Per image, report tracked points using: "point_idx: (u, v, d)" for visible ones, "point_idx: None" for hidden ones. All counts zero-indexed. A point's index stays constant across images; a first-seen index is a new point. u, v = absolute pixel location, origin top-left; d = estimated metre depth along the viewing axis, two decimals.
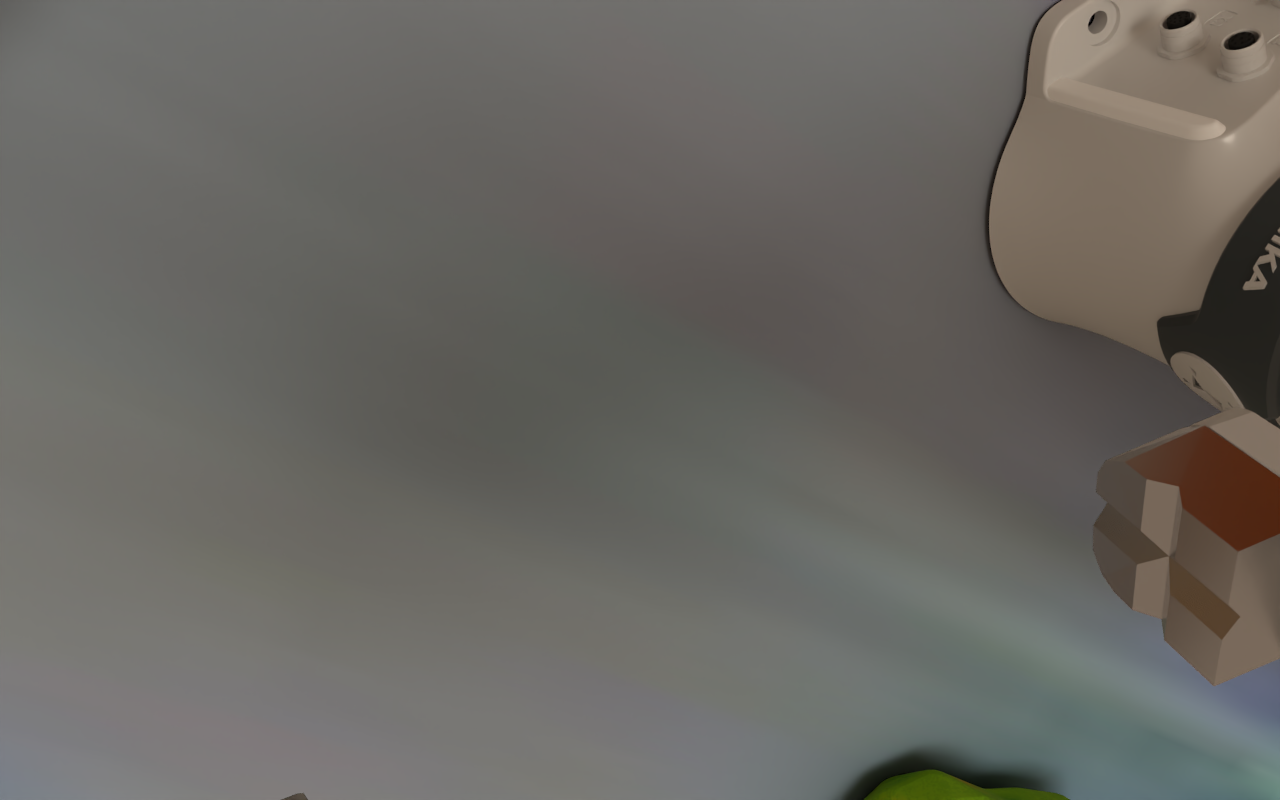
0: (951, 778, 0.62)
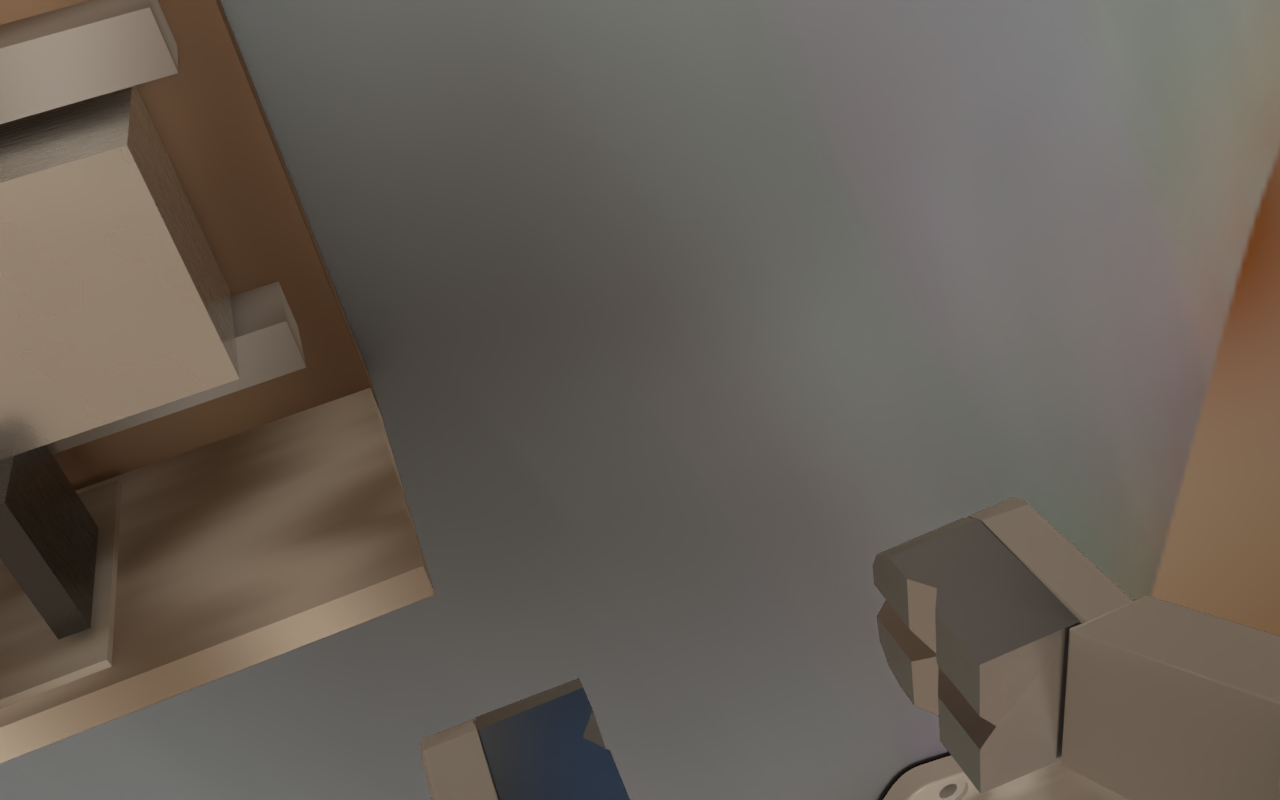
0: None
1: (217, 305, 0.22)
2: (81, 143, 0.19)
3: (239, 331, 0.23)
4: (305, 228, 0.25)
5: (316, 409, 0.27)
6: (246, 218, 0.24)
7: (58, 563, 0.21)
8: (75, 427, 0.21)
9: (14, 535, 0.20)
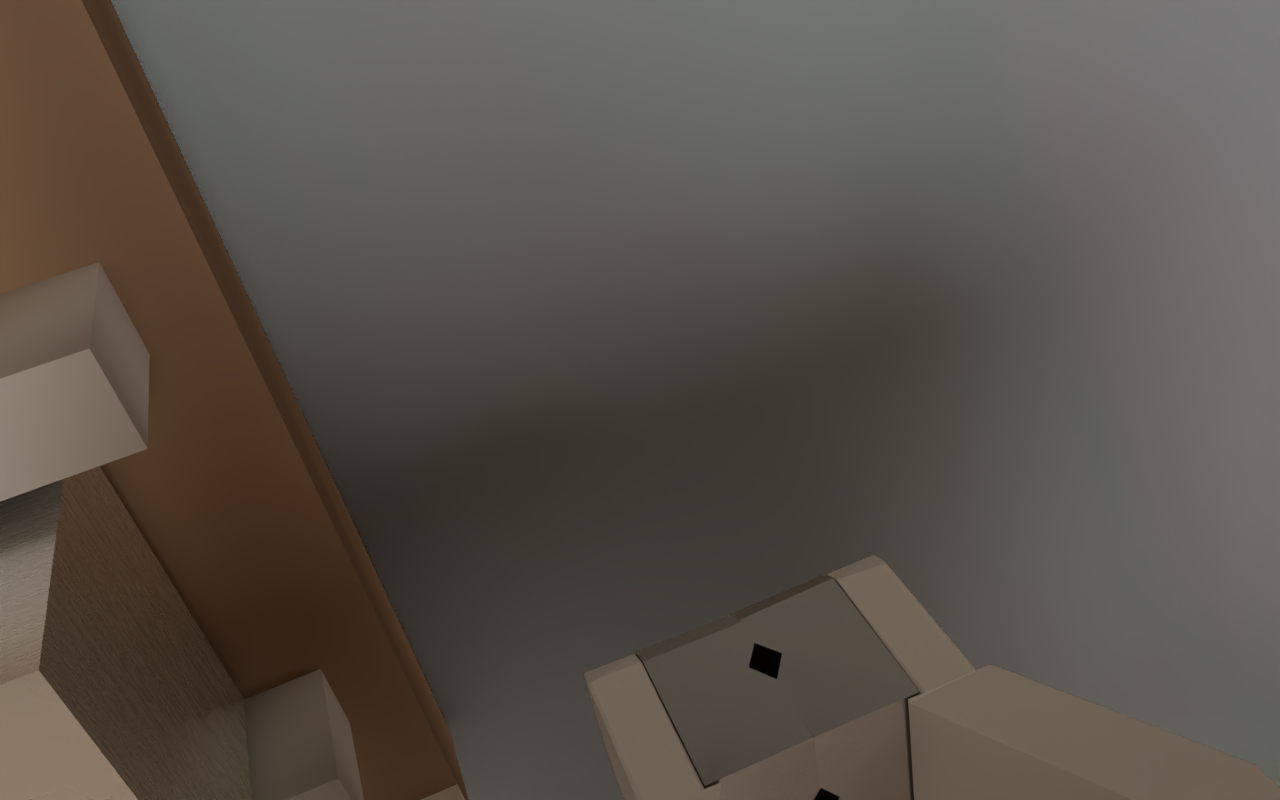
0: None
1: None
2: None
3: (260, 796, 0.14)
4: (364, 592, 0.15)
5: None
6: (269, 591, 0.15)
7: None
8: None
9: None
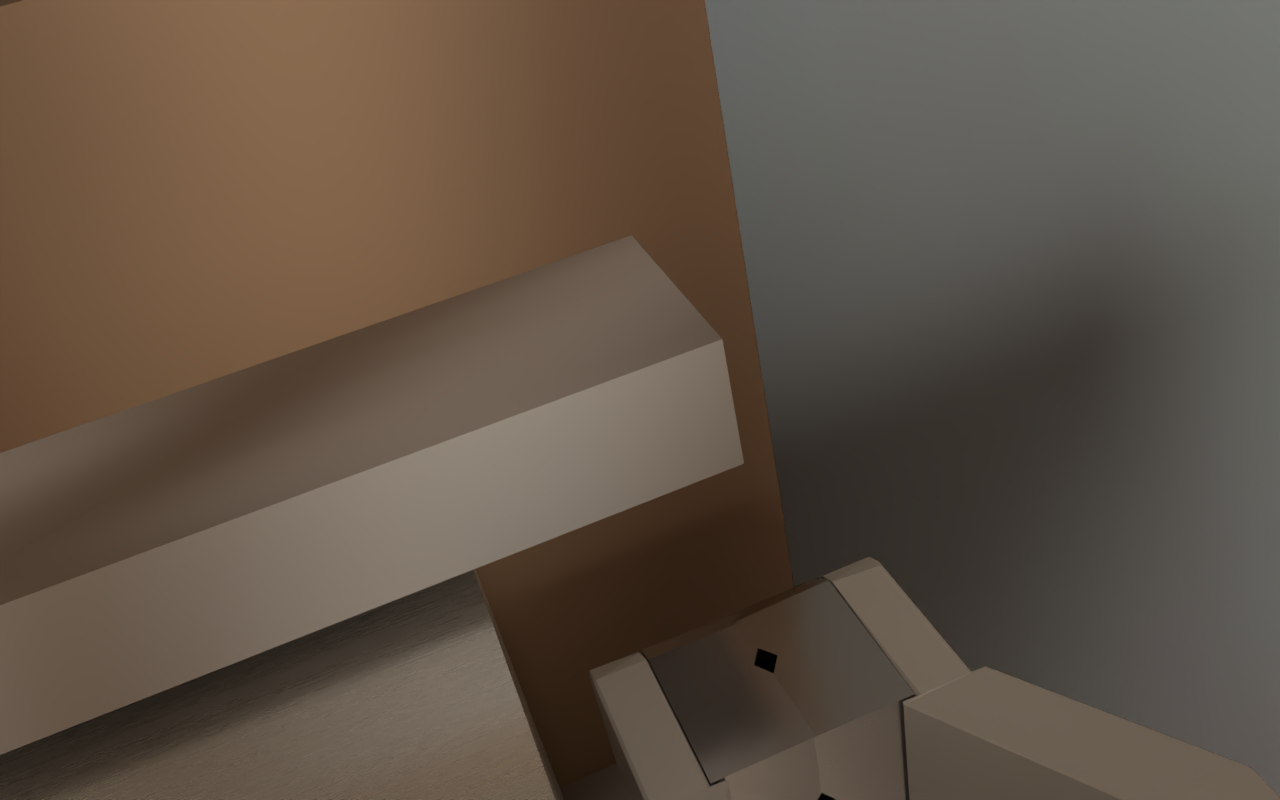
0: None
1: None
2: (422, 785, 0.07)
3: None
4: None
5: None
6: None
7: None
8: None
9: None
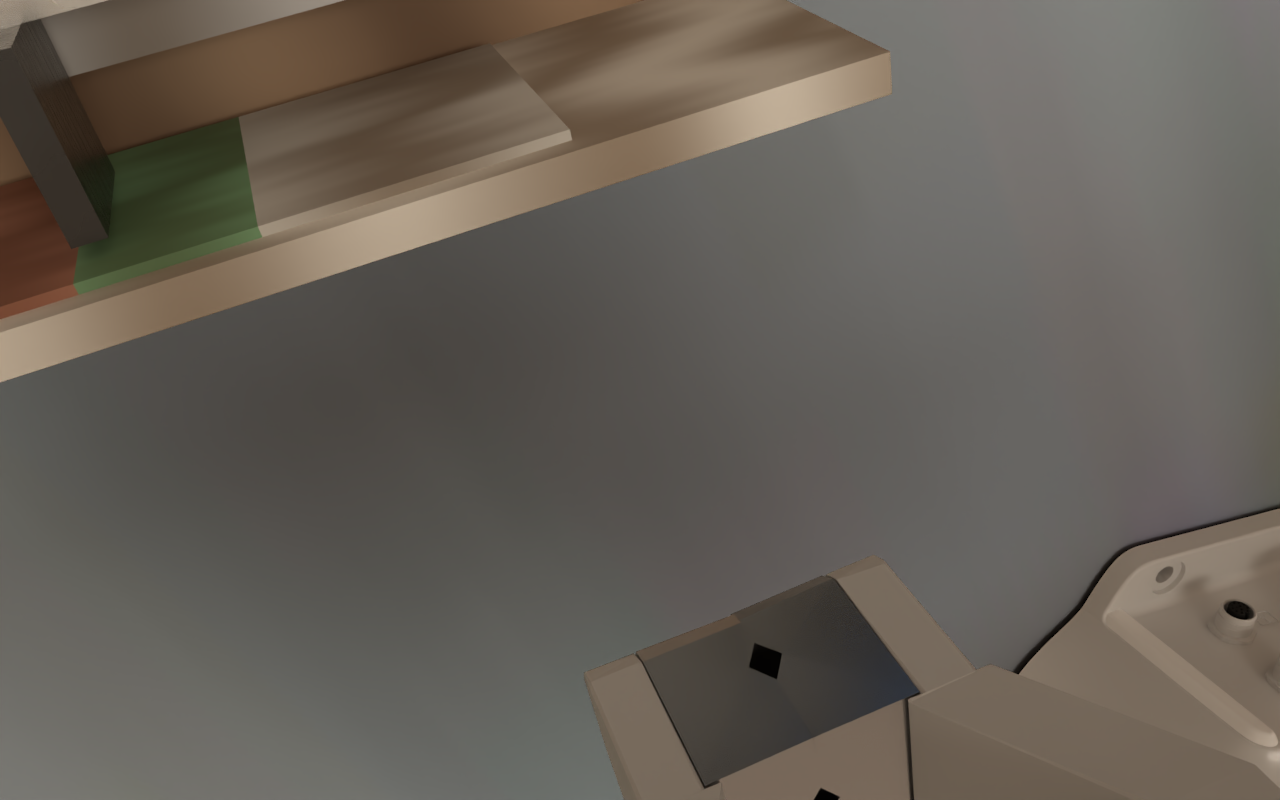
0: None
1: None
2: None
3: None
4: None
5: None
6: None
7: (72, 154, 0.18)
8: None
9: (22, 95, 0.17)
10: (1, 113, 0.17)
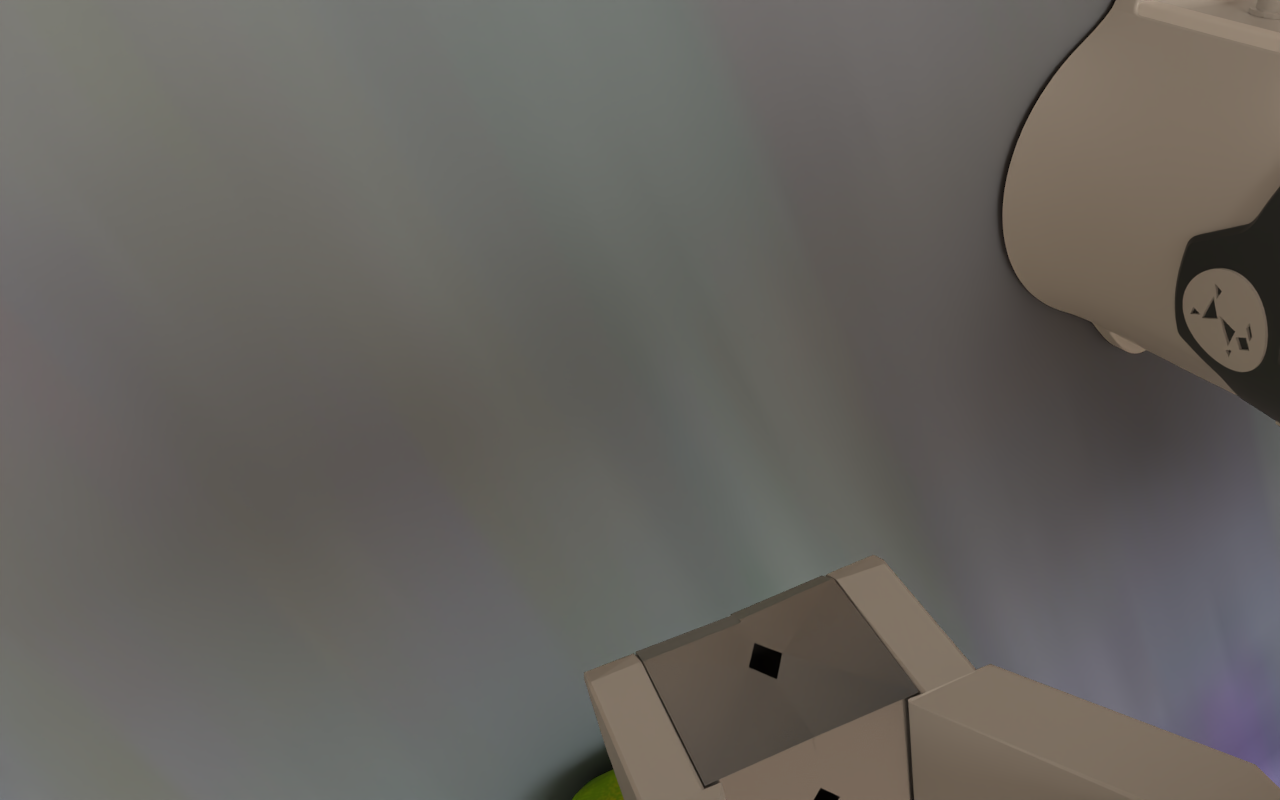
0: None
1: None
2: None
3: None
4: None
5: None
6: None
7: None
8: None
9: None
10: None
